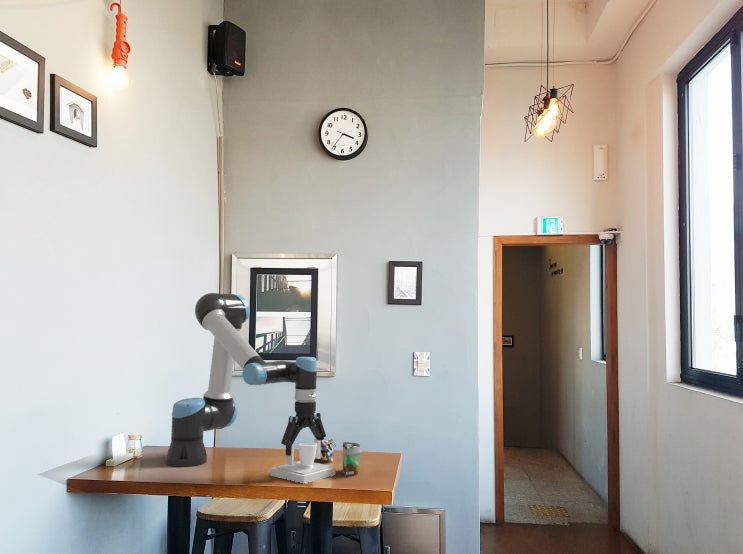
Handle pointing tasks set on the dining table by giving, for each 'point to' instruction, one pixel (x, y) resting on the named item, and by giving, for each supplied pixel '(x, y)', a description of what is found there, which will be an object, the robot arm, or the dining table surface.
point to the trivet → (303, 472)
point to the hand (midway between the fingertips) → (303, 461)
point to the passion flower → (327, 449)
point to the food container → (351, 458)
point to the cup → (306, 454)
